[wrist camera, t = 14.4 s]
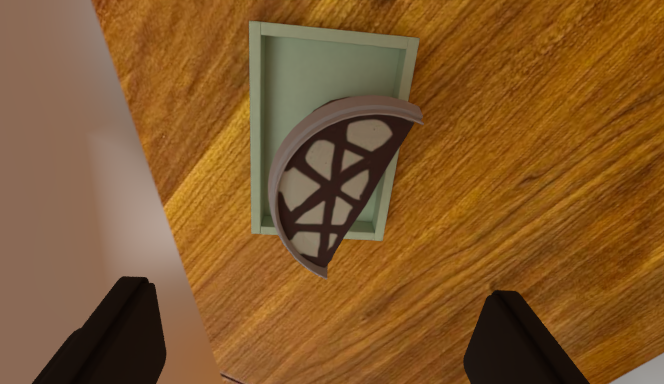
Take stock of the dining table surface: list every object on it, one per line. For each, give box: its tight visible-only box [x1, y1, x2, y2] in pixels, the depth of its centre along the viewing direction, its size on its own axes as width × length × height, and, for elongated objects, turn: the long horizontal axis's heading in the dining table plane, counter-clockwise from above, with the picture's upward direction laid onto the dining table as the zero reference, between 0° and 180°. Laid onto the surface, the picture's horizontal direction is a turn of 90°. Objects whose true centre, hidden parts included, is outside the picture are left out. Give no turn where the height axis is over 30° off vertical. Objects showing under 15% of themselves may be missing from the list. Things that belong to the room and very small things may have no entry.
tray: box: [249, 21, 420, 241], centre depth 27 cm, size 12×17×3 cm
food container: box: [268, 95, 424, 279], centre depth 23 cm, size 12×6×10 cm, turn 153°
